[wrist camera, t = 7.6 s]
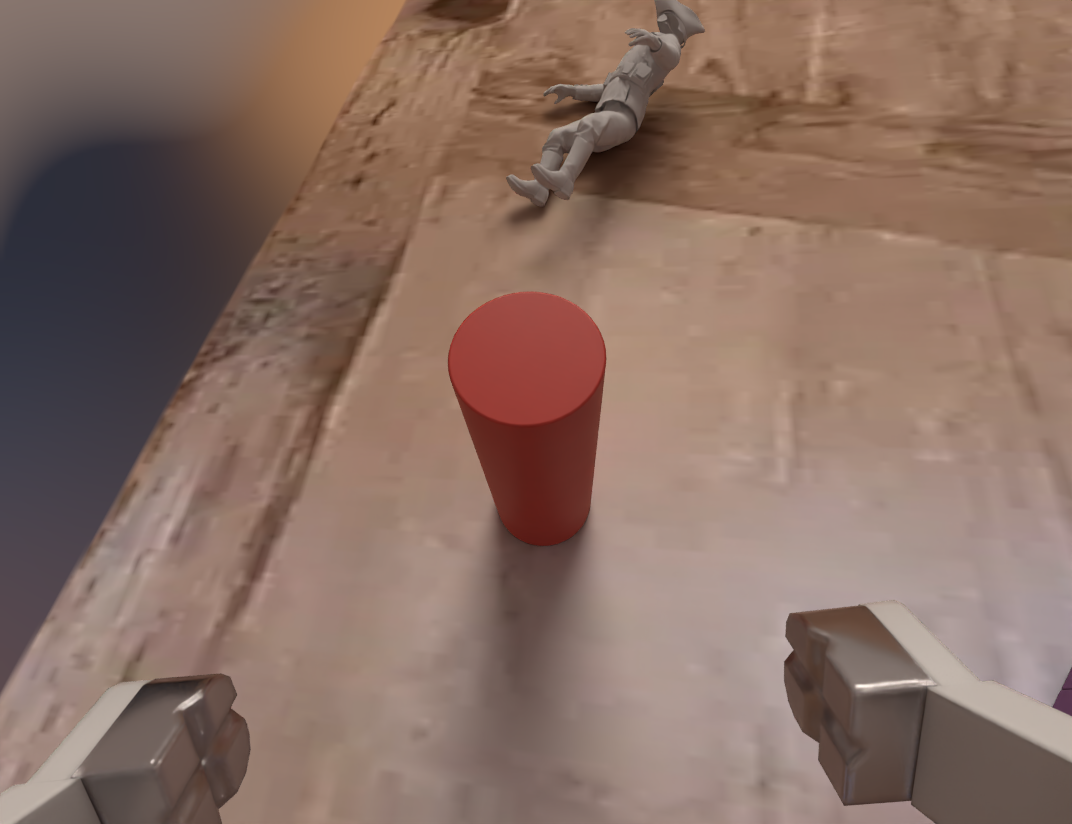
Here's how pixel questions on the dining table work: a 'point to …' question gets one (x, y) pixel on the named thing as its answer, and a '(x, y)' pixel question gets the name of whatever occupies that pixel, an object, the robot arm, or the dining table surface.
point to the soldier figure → (610, 103)
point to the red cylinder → (532, 408)
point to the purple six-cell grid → (1065, 697)
